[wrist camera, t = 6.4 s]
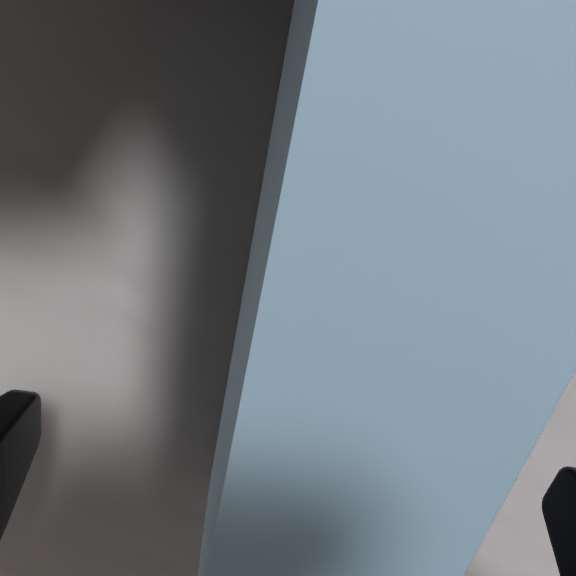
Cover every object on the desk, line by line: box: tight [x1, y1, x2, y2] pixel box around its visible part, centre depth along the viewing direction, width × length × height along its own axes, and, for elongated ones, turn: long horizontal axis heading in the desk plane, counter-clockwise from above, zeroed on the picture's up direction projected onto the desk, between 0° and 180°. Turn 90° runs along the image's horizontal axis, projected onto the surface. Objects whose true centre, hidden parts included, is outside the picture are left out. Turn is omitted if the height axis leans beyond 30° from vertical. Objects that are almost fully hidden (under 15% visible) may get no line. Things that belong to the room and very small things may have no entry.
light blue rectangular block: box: [197, 0, 576, 576], centre depth 8 cm, size 13×3×5 cm, turn 169°
